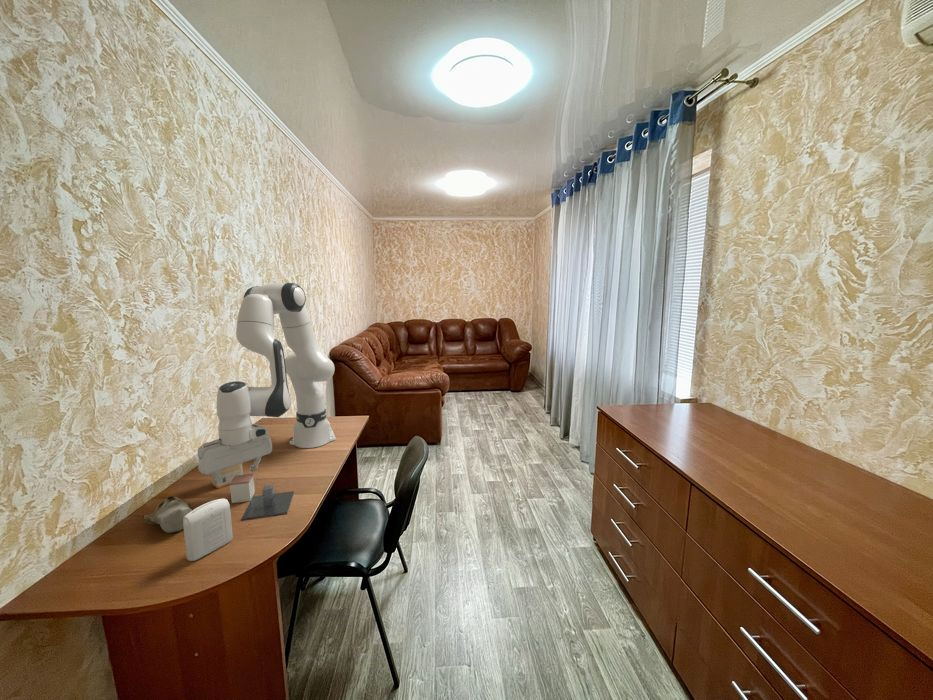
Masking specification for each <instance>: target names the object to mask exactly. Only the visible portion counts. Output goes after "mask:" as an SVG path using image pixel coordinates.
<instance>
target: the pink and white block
mask: <svg viewBox="0 0 933 700" xmlns="http://www.w3.org/2000/svg"><path fill="white" fill-rule="evenodd" d="M255 489H256V488H255V479H254V472H252V473H245V474H244V473H243V475H235V476H234V478H233V479H232V481H231V482H230V484H229V490H230V491H229V492H230V500H231V504H235V503H243V502H250V501H251V499H252V497H253V496H255V493H256V491H255Z"/></svg>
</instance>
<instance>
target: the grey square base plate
mask: <svg viewBox="0 0 933 700" xmlns="http://www.w3.org/2000/svg"><path fill="white" fill-rule="evenodd" d="M261 493H262V495H261V494H260V495H253V497H252V499H251V500H250V501H249V503H248V505H247V507H246V510H245V511H244V513H243V514H242V517H241V521H246V520H252V519H254V520H255V519H259V518H267V517H272V516H274V517H275V516H280V515H287V514H288V512H289V510H290V506H291V503H292V500H293V497H294V494H295V491H294V490H291V491H284V492H283V491H282V492H275V486H274V484H269V485H264V486H263V488H262V492H261Z"/></svg>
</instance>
